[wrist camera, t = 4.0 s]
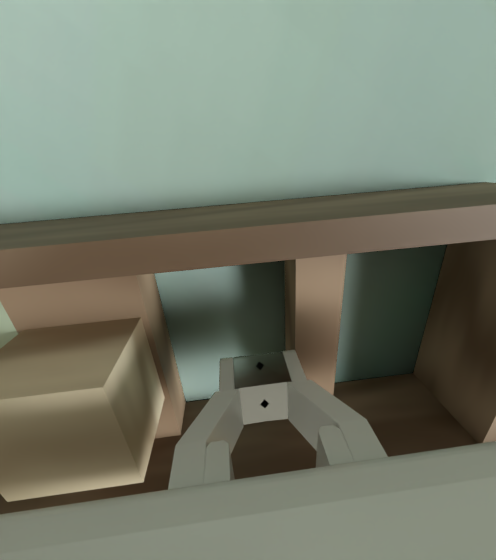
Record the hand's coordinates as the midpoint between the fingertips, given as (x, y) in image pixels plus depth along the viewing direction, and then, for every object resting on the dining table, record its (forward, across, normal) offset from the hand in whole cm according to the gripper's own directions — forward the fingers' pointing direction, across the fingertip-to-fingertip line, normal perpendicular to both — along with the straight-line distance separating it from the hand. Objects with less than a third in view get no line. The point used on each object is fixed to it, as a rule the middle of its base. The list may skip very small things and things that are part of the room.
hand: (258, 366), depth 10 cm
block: (+1, +7, 0) cm, 7 cm away
